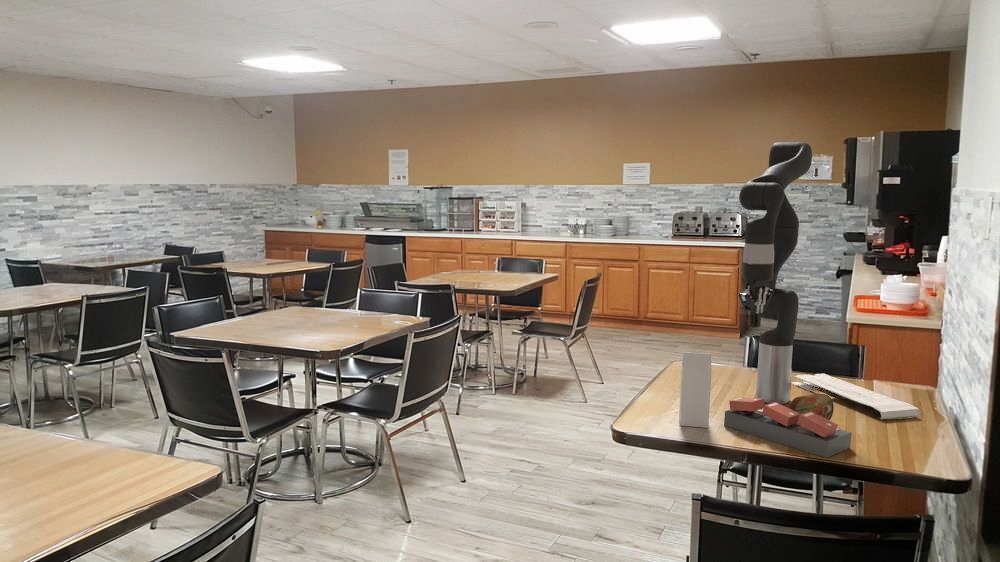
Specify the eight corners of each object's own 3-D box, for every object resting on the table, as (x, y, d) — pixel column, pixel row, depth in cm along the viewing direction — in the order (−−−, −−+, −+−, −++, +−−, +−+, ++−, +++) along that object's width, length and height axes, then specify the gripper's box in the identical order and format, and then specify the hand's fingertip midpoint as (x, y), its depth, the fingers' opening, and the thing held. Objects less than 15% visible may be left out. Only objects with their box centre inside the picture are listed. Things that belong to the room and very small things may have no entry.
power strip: (748, 418, 198) (749, 401, 197) (850, 448, 176) (851, 429, 175) (724, 425, 191) (725, 408, 190) (826, 458, 169) (828, 438, 168)
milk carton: (708, 428, 188) (712, 356, 186) (680, 426, 190) (683, 355, 187) (706, 420, 195) (710, 350, 193) (679, 417, 197) (682, 349, 194)
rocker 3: (808, 420, 178) (811, 410, 177) (835, 433, 173) (837, 424, 172) (797, 423, 175) (800, 414, 174) (824, 437, 170) (827, 428, 169)
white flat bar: (822, 370, 238) (921, 407, 200) (821, 382, 238) (920, 421, 200) (789, 372, 234) (884, 410, 196) (789, 384, 235) (882, 424, 197)
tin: (794, 431, 187) (796, 400, 186) (784, 428, 190) (786, 396, 189) (833, 424, 194) (835, 393, 193) (823, 420, 197) (825, 390, 196)
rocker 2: (773, 410, 185) (775, 401, 185) (797, 422, 180) (800, 413, 179) (761, 413, 182) (764, 404, 182) (786, 426, 177) (789, 417, 176)
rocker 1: (741, 406, 193) (740, 397, 193) (765, 407, 187) (763, 398, 187) (730, 410, 190) (729, 400, 190) (753, 411, 184) (752, 401, 184)
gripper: (759, 257, 194) (756, 321, 196) (730, 261, 185) (727, 328, 188) (785, 260, 188) (781, 326, 190) (757, 264, 180) (753, 332, 182)
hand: (754, 326), depth 189 cm, fingers closed
